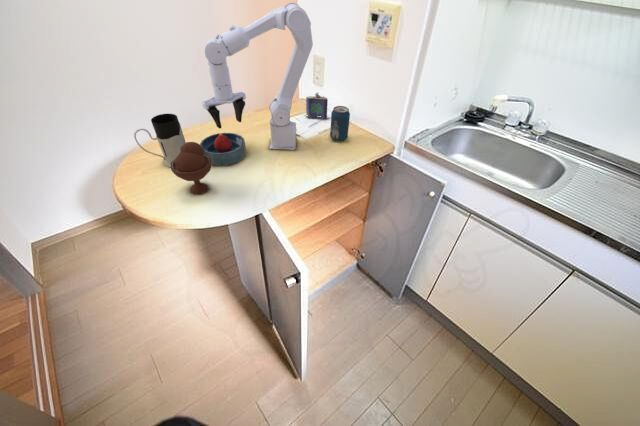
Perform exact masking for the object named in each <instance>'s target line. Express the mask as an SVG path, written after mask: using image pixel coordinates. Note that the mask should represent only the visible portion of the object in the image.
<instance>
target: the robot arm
mask: <svg viewBox="0 0 640 426" xmlns="http://www.w3.org/2000/svg"><path fill="white" fill-rule="evenodd" d="M311 25H312V22H311V20H310V18H309V16H308V14H307V11H306V10H304V8H302V7H301V6H300V5H299V4H297V3H296V2H288V3H286V5H282V6H279V7H277V8H275V9H272V10H271V11H270V12H268V13H267V14H265V15H263V16H262V17H260V18H258V19H257V20H255V21H253V22H251V23H250V24H248V25H247V26H245V27H243V26H240V25H235V26H234V24H233V25H230V26H229V30H227V31H225V32H223V33H222V34H215V35H214V38H210V39H208V40H207V42H206V43H205V46H204V55H205V57H206V59H207V65H208V70H209V71H208V72H209V75H210V81H211V86H212V90H213V94H214V96H213V97H211V98H209V99H207V100H204V101H201V104H202V107H203V109H204V110H207V112H208V113H209V115H210V116H211V117H212V119H213V122H214V123H215V125H216V127H217V128H218V129H222V122H221V115H220V113H221V112H220V110H219V109H218V106H222V105H225V104H227V105H229V104H232V107H233V110H234V114H235V120H236V121H237V122H238V123H242V117H243V111H244V108H245V106H246V101H245V100H246V99H247V97H246V93H245V92H243V91H239V92H233V86H232V80H231V74H230V69H229V66H228V63H227V57H231V56H234V55H235V54H238V53H239V52H241V51H243V50H245V49H246V48H249V46H250V41H251V40H253V39H254V38H256V37H259V36H261V35H263V34H265V33H267V32H269V31H271V30H273V29H277V30H282V31H285V30H286V27H287V28H288V30H289V31H290V33H291V35H292V38H293V40H294V43H295V45H294V47H293V50H292V53H291V56H290V59H289V61H288V65H287V67H286V70H285V73H284V76H283V79H282V81H281V85H280V87H279V89H278V91H277V93H276V94H275V97H274V99H273V100H271V102H270V103H269V106H268V109H269V112H270V116H271V118H270V119H269V128H270V139H271V142H270V145H269V149H270V150H288V151H289V150H290V151H293V150H294V151H295V150H296V148H297V142H298V137H297V122H296V121H291V110H292V103H293V99H294V96H295V94H296V90H297V88H298V85H299V84H300V80H301V78H302V76H303V75H302V74H303V73H304V70H305V67H306V65H307V62H308V59H309V57H310V54H311V52H312V49H313V46H314V44H313V43H314V42H313V35H312V28H311V27H312V26H311Z"/></svg>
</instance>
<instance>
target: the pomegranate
mask: <svg viewBox="0 0 640 426" xmlns="http://www.w3.org/2000/svg"><path fill="white" fill-rule="evenodd" d="M218 133H219V136H218V137H217V138H216V139H215V142H214V146H215V149H216V150H217V151H218V152H220V153H225V152H230V150H231V149H232V143H231V140H230V139H229V138H228V137H227V136H225V135H223V134H221V133H222V132H218Z"/></svg>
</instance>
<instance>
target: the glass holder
mask: <svg viewBox="0 0 640 426" xmlns="http://www.w3.org/2000/svg"><path fill="white" fill-rule="evenodd" d="M150 122H151V124H152V128H153V130H154V132H155V136H156V137H153V136H152V134H151V133H150V132H149V130H147V129H146V128H138V129H136V130H135V131H134V133H133V137H134V141H135V142H136V144H137V145H138V147H140V148H141V150H143V151H144V152H145V153H148V154H151V155H154V156H157V157H160V158H162V159H163V160H164V165H166V166H167V167H168V168H171V162H172V161H173V160H175V159H176V157H177V156H178V155H179V153H181V150H180V148H181V147H182V145H184V144H185V143H187V142H186V139H185V136H184V131H183V128H182V125H181V123H180V121H179V118H178V115H176V114H175V113H174V114H173V113H160V114H157V115H155V116H153V117H152V118H151V119H150ZM140 131H144V132H146V133H147V134H148V136H149V138H150V139H151V140H153V141H155V140H157V142H158V145H159V147H160V150H161V153H162V155H161V154H158V153H154V152H151V151H149V150H147V149H145V148H144V147H143V146H142V145H141V144H140V142H138V139H137V133H138V132H140Z"/></svg>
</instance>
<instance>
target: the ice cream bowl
mask: <svg viewBox="0 0 640 426" xmlns="http://www.w3.org/2000/svg"><path fill="white" fill-rule="evenodd" d="M180 150H181V153H179V155H178V156H177V157H176V159H175V160H173V161H172V162H171V167H170V170H171V171H172V173H173V175H175V176H176V177H177V178H179V179H182V180H183V181H187V182H193V183H194V184H192V185H191V186H190V187H189V193H190V194H192V195H193V196H198V195H203V194H206V193H207V191H208V190H209V185H208V184H207V183H206V182H205V183H204V182H201V180H203V179H204V178H205V177H206V176H207V175H208V174H209V173H210V172H211V169H212V164H211V159H210V156H208V155H205V154H204V151H205V150H204V149H203V148H202V146H201V145H200V143H198V142H195V141H187V142H186V143H185V144H184V145H182V147H181V148H180Z"/></svg>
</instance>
